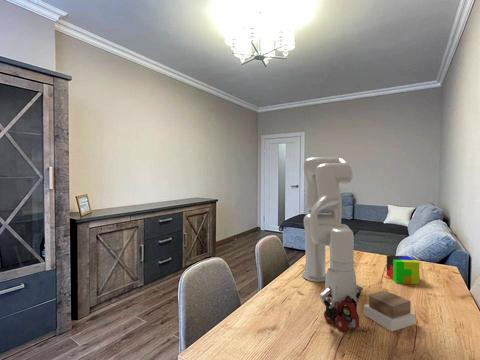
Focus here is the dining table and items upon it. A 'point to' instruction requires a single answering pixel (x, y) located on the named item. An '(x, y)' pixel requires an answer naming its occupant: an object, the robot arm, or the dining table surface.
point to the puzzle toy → (403, 269)
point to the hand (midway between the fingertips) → (341, 315)
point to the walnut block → (390, 304)
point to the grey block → (389, 319)
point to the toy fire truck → (344, 314)
